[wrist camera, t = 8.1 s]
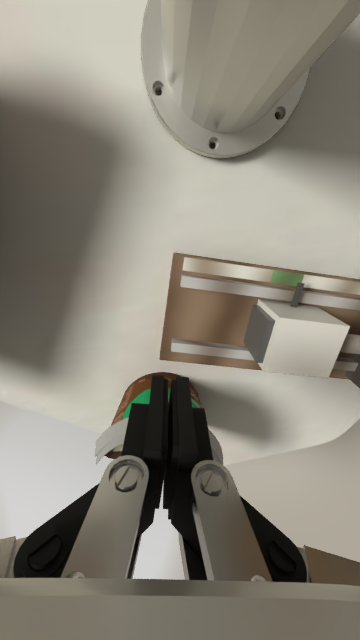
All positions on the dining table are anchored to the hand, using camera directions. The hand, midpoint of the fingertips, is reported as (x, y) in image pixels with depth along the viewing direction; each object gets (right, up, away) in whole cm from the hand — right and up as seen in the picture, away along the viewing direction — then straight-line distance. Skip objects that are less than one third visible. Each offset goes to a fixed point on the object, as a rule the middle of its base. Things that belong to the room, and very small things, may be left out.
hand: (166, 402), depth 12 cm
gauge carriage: (+11, +4, +14) cm, 18 cm away
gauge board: (+11, +4, +16) cm, 20 cm away
